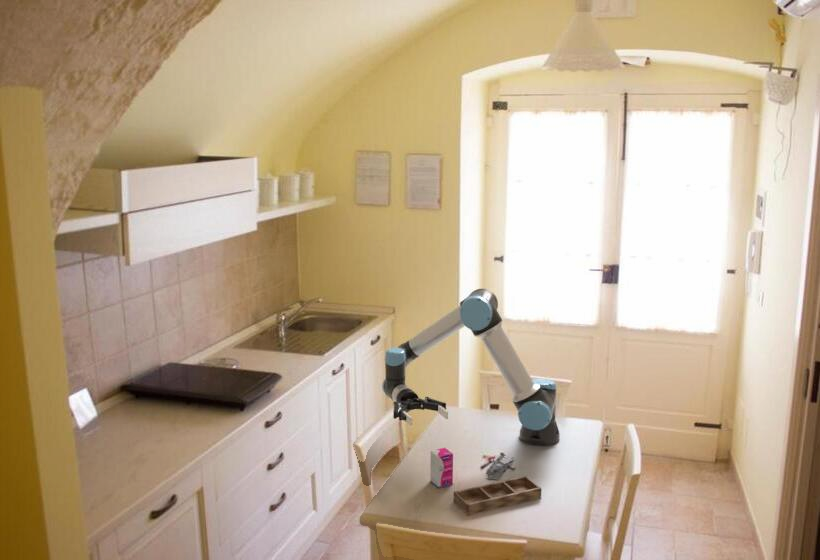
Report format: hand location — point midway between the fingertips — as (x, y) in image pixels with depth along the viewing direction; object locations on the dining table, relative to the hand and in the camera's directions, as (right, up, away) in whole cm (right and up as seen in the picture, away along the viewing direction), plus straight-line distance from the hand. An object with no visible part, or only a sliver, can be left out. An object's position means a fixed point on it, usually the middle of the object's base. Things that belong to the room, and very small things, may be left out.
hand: (429, 418), depth 266 cm
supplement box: (+4, -21, -4) cm, 22 cm away
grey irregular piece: (+25, -19, +7) cm, 32 cm away
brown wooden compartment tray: (+22, -23, -16) cm, 36 cm away
